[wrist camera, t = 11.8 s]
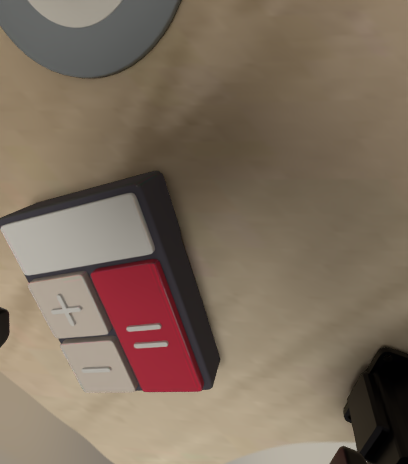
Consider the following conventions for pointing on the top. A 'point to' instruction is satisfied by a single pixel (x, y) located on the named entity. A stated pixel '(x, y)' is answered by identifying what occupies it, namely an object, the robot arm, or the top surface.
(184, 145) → the top surface
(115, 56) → the coaster
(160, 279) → the calculator
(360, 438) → the robot arm
